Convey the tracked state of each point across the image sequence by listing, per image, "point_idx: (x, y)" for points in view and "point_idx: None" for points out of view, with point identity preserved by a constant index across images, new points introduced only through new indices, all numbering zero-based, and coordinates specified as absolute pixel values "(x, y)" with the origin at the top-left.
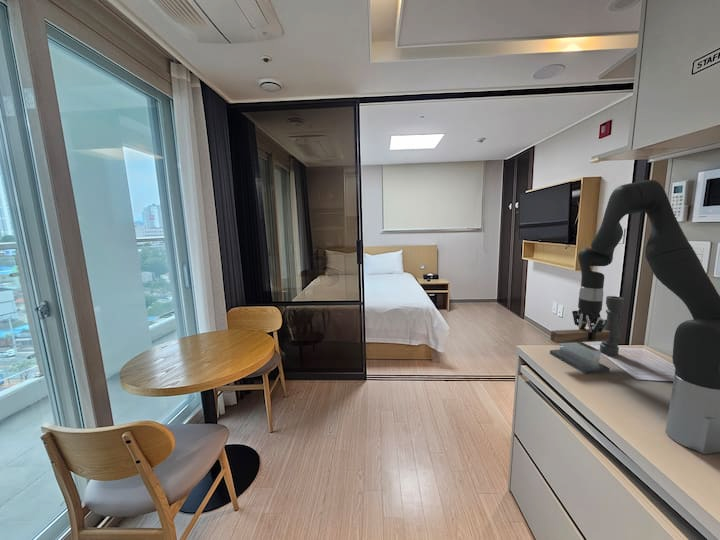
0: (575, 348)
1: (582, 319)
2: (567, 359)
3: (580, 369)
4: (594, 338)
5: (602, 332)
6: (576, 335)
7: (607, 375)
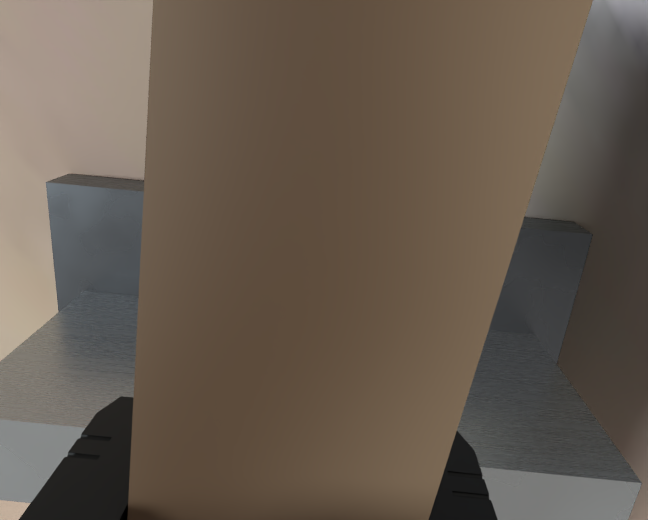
0: None
1: None
2: None
3: None
4: (475, 483)
5: (503, 262)
6: None
7: (609, 306)
